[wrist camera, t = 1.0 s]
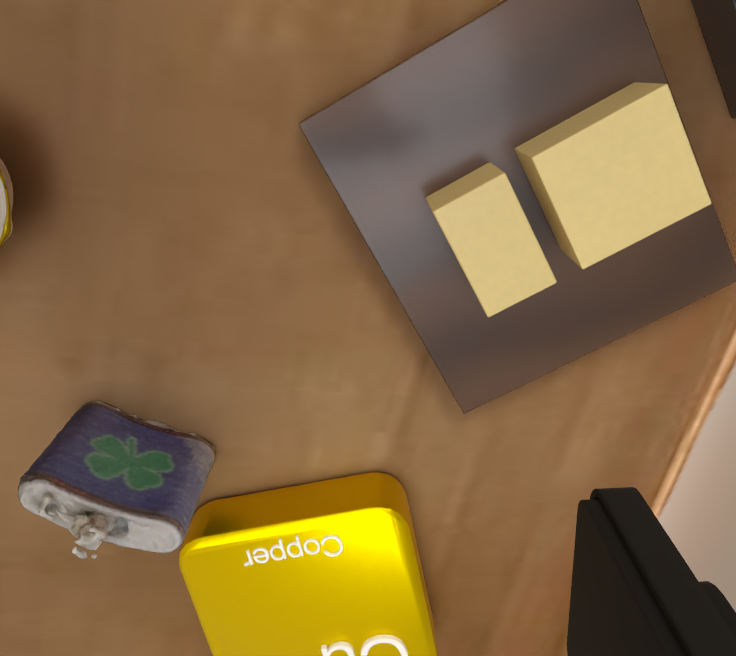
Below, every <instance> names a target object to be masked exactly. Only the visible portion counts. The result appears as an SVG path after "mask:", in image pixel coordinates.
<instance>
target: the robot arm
mask: <svg viewBox="0 0 736 656" xmlns="http://www.w3.org/2000/svg"><path fill="white" fill-rule="evenodd" d="M567 653H568V656H736V612H735V611H734V609H733V608H732V607H731V605H730V604H729V602H728V601H727V600H726V598H725V597H724V595H723V594H722V593H721V592H720V590H719V589H718V588H717V587H716V586H715V585H713V584H712V583H710V582H708V581H705V582H698V580H697V579H696V577H695V576H694V574H693V573H692V571H691V570H690V568H689V567H688V565H687V563H686V562H685V560H684V559H683V557H682V556H681V554H680V553H679V551H678V550H677V548H676V547H675V545H674V544H673V542H672V541H671V539H670V538H669V536H668V535H667V533H666V532H665V530H664V529H663V527H662V526H661V524H660V523H659V521H658V520H657V518H656V517H655V515H654V514H653V512H652V510H651V509H650V507H649V506H648V504H647V503H646V501H645V500H644V498H643V497H642V495H641V494H640V492H639V491H638V490H637V489H636V488H633V487H628V488H606V489H594V490H593V491H592V493H591V496H590V500H581V501H580V502H579V504H578V512H577V524H576V537H575V549H574V561H573V574H572V586H571V599H570V611H569V624H568V636H567Z"/></svg>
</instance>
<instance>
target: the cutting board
mask: <svg viewBox="0 0 736 656" xmlns="http://www.w3.org/2000/svg"><path fill="white" fill-rule="evenodd" d="M634 82H642V83H660V84H667V85H668V87H669V84H668V81H667V79H666V76H665V73H664V71H663V68H662V65H661V62H660V60H659V57H658V54H657V52H656V49H655V46H654V44H653V41H652V38H651V35H650V33H649V30H648V27H647V25H646V22H645V19H644V16H643V14H642V11H641V8H640V6H639V3H638V0H505V1H504V2H502V3H500V4H499V5H497V6H495V7H494V8H492V9H490V10H488V11H487V12H485V13H483V14H482V15H480V16H478V17H477V18H475V19H473V20H472V21H470V22H468V23H467V24H465V25H463V26H461V27H460V28H458V29H456V30H455V31H453V32H451V33H450V34H448V35H446V36H445V37H443V38H441V39H440V40H438V41H436V42H435V43H433V44H431V45H429V46H428V47H426V48H424V49H423V50H421V51H419V52H418V53H416V54H414V55H413V56H411V57H409V58H408V59H406V60H404V61H402V62H401V63H399V64H397V65H396V66H394V67H392V68H391V69H389V70H387V71H386V72H384V73H382V74H381V75H379V76H377V77H375V78H374V79H372V80H370V81H369V82H367V83H365V84H364V85H362V86H360V87H359V88H357V89H355V90H354V91H352V92H350V93H349V94H347V95H345V96H343V97H342V98H340V99H338V100H337V101H335V102H333V103H332V104H330V105H328V106H327V107H325V108H323V109H322V110H320V111H318V112H316V113H315V114H313V115H311V116H310V117H308V118H306V119H305V120H303V121H301V122H300V123H299V126H300V128H301V130H302V131H303V133H304V135H305V137H306V138H307V140H308V142H309V144H310V145H311V147H312V149H313V151H314V152H315V154H316V156H317V158H318V159H319V161H320V163H321V165H322V166H323V168H324V170H325V172H326V173H327V175H328V177H329V179H330V180H331V182H332V184H333V186H334V187H335V189H336V191H337V193H338V194H339V196H340V198H341V200H342V201H343V203H344V205H345V207H346V208H347V210H348V212H349V214H350V215H351V217H352V219H353V221H354V222H355V224H356V226H357V228H358V229H359V231H360V233H361V235H362V236H363V238H364V240H365V242H366V243H367V245H368V247H369V249H370V250H371V252H372V254H373V256H374V257H375V259H376V261H377V263H378V264H379V266H380V268H381V270H382V271H383V273H384V275H385V277H386V278H387V280H388V282H389V284H390V285H391V287H392V289H393V291H394V292H395V294H396V296H397V298H398V299H399V301H400V303H401V305H402V306H403V308H404V310H405V312H406V313H407V315H408V317H409V319H410V320H411V322H412V324H413V326H414V327H415V329H416V331H417V333H418V334H419V336H420V338H421V340H422V341H423V343H424V345H425V347H426V348H427V350H428V352H429V354H430V355H431V357H432V359H433V361H434V362H435V364H436V366H437V368H438V369H439V371H440V373H441V375H442V376H443V378H444V380H445V382H446V383H447V385H448V387H449V389H450V390H451V392H452V394H453V396H454V397H455V399H456V401H457V403H458V404H459V406H460V408H461V410H462V411H463V413H464V414H465V413H467V412H469V411H471V410H473V409H475V408H477V407H479V406H481V405H483V404H485V403H487V402H489V401H491V400H493V399H495V398H498V397H500V396H502V395H504V394H506V393H508V392H510V391H512V390H514V389H516V388H518V387H520V386H522V385H524V384H526V383H528V382H530V381H532V380H535V379H537V378H539V377H541V376H543V375H545V374H547V373H549V372H551V371H553V370H555V369H557V368H559V367H561V366H563V365H565V364H567V363H569V362H571V361H574V360H576V359H578V358H580V357H582V356H584V355H586V354H588V353H590V352H592V351H594V350H596V349H598V348H600V347H602V346H604V345H606V344H608V343H611V342H613V341H615V340H617V339H619V338H621V337H623V336H625V335H627V334H629V333H631V332H633V331H635V330H637V329H639V328H641V327H643V326H645V325H648V324H650V323H652V322H654V321H656V320H658V319H660V318H662V317H664V316H666V315H668V314H670V313H672V312H674V311H676V310H678V309H680V308H682V307H685V306H687V305H689V304H691V303H693V302H695V301H697V300H699V299H701V298H703V297H705V296H707V295H709V294H711V293H713V292H715V291H717V290H719V289H722V288H724V287H726V286H728V285H730V284H732V283H734V282H736V266H735V263H734V260H733V257H732V255H731V252H730V249H729V247H728V244H727V241H726V239H725V236H724V233H723V230H722V228H721V225H720V222H719V220H718V217H717V214H716V211H715V209H714V206H713V203H712V201H711V204H710V205H708V206H707V207H705V208H703V209H701V210H699V211H697V212H695V213H693V214H691V215H689V216H687V217H685V218H683V219H681V220H679V221H677V222H675V223H673V224H671V225H669V226H667V227H665V228H663V229H661V230H659V231H657V232H655V233H654V234H652V235H650V236H648V237H646V238H644V239H642V240H640V241H638V242H636V243H634V244H632V245H630V246H628V247H626V248H624V249H622V250H620V251H618V252H616V253H614V254H612V255H610V256H608V257H606V258H604V259H603V260H601V261H599V262H597V263H595V264H593V265H591V266H589V267H587V268H585V269H582V268H581V267H579V266H578V265H577V264H576V263H575V262H574V261H573V260H572V259H571V258H569V257H568V256H567V255H566V254H565V253H564V252H563V251H562V250H561V249H560V247H559V245H558V242H557V240H556V238H555V236H554V234H553V232H552V230H551V227H550V225H549V223H548V221H547V219H546V217H545V214H544V212H543V210H542V208H541V206H540V204H539V202H538V199H537V197H536V195H535V193H534V191H533V189H532V186H531V184H530V182H529V180H528V178H527V176H526V173H525V171H524V169H523V167H522V165H521V163H520V161H519V158H518V156H517V154H516V152H515V148H516V147H518V146H520V145H522V144H523V143H525V142H527V141H529V140H531V139H532V138H534V137H536V136H538V135H540V134H541V133H543V132H545V131H547V130H549V129H551V128H552V127H554V126H556V125H558V124H560V123H561V122H563V121H565V120H567V119H569V118H570V117H572V116H574V115H576V114H578V113H580V112H581V111H583V110H585V109H587V108H589V107H590V106H592V105H594V104H596V103H598V102H599V101H601V100H603V99H605V98H607V97H609V96H610V95H612V94H614V93H616V92H618V91H619V90H621V89H623V88H625V87H627V86H628V85H630V84H632V83H634ZM669 89H670V87H669ZM670 92H671V90H670ZM671 95H672V92H671ZM672 98H673V95H672ZM673 100H674V98H673ZM674 103H675V100H674ZM675 106H676V103H675ZM676 108H677V106H676ZM677 111H678V109H677ZM678 114H679V111H678ZM679 117H680V114H679ZM680 119H681V117H680ZM681 122H682V119H681ZM682 125H683V122H682ZM683 127H684V125H683ZM684 130H685V127H684ZM685 133H686V130H685ZM686 135H687V133H686ZM687 138H688V136H687ZM688 141H689V138H688ZM689 144H690V141H689ZM690 146H691V144H690ZM691 149H692V146H691ZM692 152H693V149H692ZM693 154H694V152H693ZM694 157H695V155H694ZM695 160H696V157H695ZM489 162H491V163H492V164H493V165H495V166H496V167H497V168H499V169H500V170H502V171H503V172H504V173H505V174H506V176H507V178H508V180H509V182H510V184H511V186H512V188H513V190H514V192H515V195H516V197H517V199H518V201H519V203H520V205H521V207H522V209H523V211H524V213H525V216H526V218H527V220H528V222H529V224H530V226H531V228H532V230H533V232H534V235H535V237H536V239H537V241H538V243H539V245H540V247H541V249H542V251H543V253H544V256H545V258H546V260H547V262H548V264H549V266H550V268H551V270H552V272H553V275H554V277H555V279H556V281H557V283H555V284H553V285H551V286H549V287H547V288H545V289H544V290H542V291H540V292H538V293H536V294H534V295H532V296H530V297H528V298H526V299H524V300H522V301H520V302H518V303H516V304H514V305H512V306H510V307H508V308H506V309H504V310H502V311H500V312H498V313H496V314H494V315H492V316H491V317H487V315H486V313H485V311H484V309H483V307H482V306H481V304H480V302H479V300H478V298H477V296H476V294H475V292H474V290H473V288H472V287H471V285H470V283H469V281H468V279H467V277H466V275H465V273H464V271H463V269H462V267H461V266H460V264H459V262H458V260H457V258H456V256H455V254H454V252H453V250H452V248H451V247H450V245H449V243H448V241H447V239H446V237H445V235H444V233H443V231H442V229H441V227H440V226H439V224H438V222H437V220H436V218H435V216H434V214H433V212H432V210H431V208H430V206H429V204H428V202H427V200H426V197H427V196H429V195H431V194H433V193H435V192H436V191H438V190H440V189H442V188H444V187H445V186H447V185H449V184H451V183H453V182H455V181H456V180H458V179H460V178H462V177H464V176H465V175H467V174H469V173H471V172H473V171H474V170H476V169H478V168H480V167H482V166H484V165H485V164H487V163H489ZM696 162H697V160H696ZM697 165H698V163H697ZM698 168H699V165H698ZM699 171H700V168H699ZM700 173H701V171H700ZM701 176H702V174H701ZM702 179H703V176H702ZM703 181H704V179H703ZM704 184H705V182H704ZM705 187H706V184H705ZM706 190H707V187H706ZM707 192H708V190H707ZM708 195H709V192H708ZM709 198H710V195H709ZM710 200H711V198H710Z"/></svg>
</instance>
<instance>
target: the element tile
mask: <svg viewBox="0 0 736 656" xmlns="http://www.w3.org/2000/svg"><path fill="white" fill-rule="evenodd" d="M179 565H180V570H181V573H182V575H183V578H184V581H185V583H186V586H187V589H188V591H189V594H190V597H191V599H192V602H193V604H194V607H195V610H196V612H197V615H198V618H199V620H200V623H201V626H202V628H203V631H204V634H205V636H206V639H207V642H208V644H209V647H210V650H211V652H212V655H213V656H438V654H437V646H436V639H435V631H434V624H433V617H432V612H431V607H430V602H429V598H428V593H427V588H426V584H425V579H424V574H423V570H422V565H421V560H420V556H419V551H418V546H417V542H416V537H415V532H414V528H413V523H412V518H411V514H410V509H409V504H408V499H407V495H406V492H405V490H404V488H403V486H402V485H401V484H400V483H399V481H398V480H397V479H396V478H394V477H392V476H391V475H389V474H385V473H379V472H374V473H364V474H358V475H353V476H347V477H342V478H336V479H330V480H325V481H319V482H314V483H308V484H302V485H297V486H291V487H286V488H280V489H274V490H269V491H263V492H258V493H252V494H246V495H241V496H235V497H230V498H224V499H218V500H214V501H211V502H208V503H206V504H205V505H203V506H202V507H200V508H199V509H198V510H197V511H196V513H195V514H194V516H193V518H192V520H191V523H190V526H189V528H188V531H187V534H186V536H185V539H184V542H183V545H182V547H181V550H180V556H179Z"/></svg>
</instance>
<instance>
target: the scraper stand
mask: <svg viewBox="0 0 736 656" xmlns="http://www.w3.org/2000/svg"><path fill="white" fill-rule="evenodd" d="M692 3H693V6H694V9H695V12H696V15H697V17H698V20H699V23H700V26H701V29H702V32H703V35H704V38H705V41H706V44H707V47H708V50H709V52H710V55H711V58H712V61H713V64H714V67H715V70H716V73H717V76H718V79H719V82H720V85H721V88H722V90H723V93H724V96H725V99H726V102H727V105H728V108H729V111H730V114H731V117H732V118H736V0H692Z"/></svg>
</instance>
